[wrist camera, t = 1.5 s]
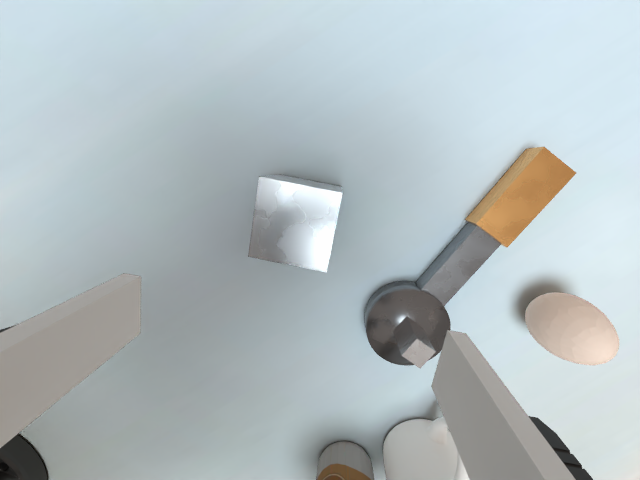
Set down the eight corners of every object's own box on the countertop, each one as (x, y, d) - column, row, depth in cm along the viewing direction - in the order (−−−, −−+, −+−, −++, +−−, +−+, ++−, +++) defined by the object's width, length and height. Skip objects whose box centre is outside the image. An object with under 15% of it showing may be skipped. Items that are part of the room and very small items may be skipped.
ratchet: (349, 323, 32) (351, 360, 26) (507, 133, 27) (559, 122, 20) (407, 363, 33) (424, 410, 26) (573, 187, 28) (643, 192, 21)
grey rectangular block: (271, 234, 30) (248, 256, 23) (280, 174, 29) (259, 176, 21) (329, 245, 30) (326, 272, 22) (341, 186, 29) (342, 192, 21)
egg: (568, 278, 29) (649, 316, 22) (567, 328, 31) (643, 381, 23) (509, 285, 30) (568, 325, 22) (511, 334, 31) (567, 388, 24)
